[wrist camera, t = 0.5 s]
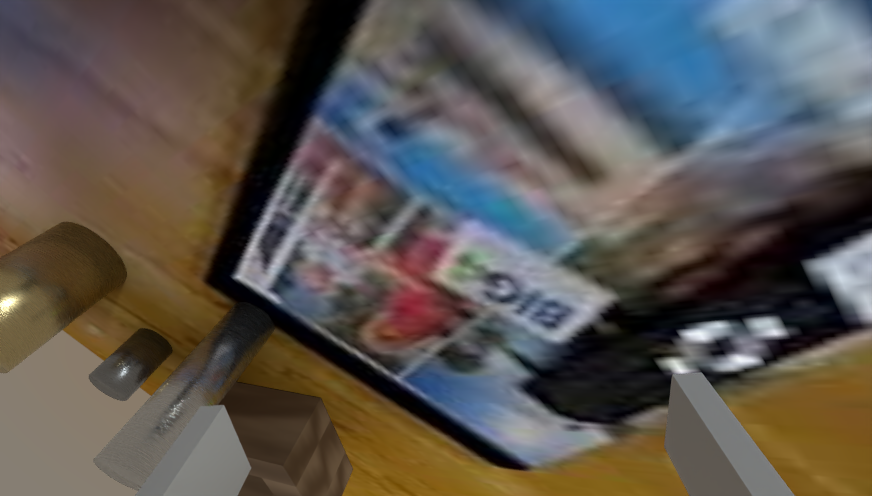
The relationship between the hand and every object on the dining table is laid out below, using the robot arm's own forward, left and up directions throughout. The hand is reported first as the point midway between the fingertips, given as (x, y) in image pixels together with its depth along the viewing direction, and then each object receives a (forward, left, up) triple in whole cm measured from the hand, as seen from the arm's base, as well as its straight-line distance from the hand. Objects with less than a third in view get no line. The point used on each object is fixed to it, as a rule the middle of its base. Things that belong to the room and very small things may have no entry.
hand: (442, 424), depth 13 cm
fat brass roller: (+5, -32, -11) cm, 34 cm away
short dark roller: (+15, -32, -11) cm, 37 cm away
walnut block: (+25, -22, -11) cm, 35 cm away
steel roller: (+10, -19, -11) cm, 24 cm away
